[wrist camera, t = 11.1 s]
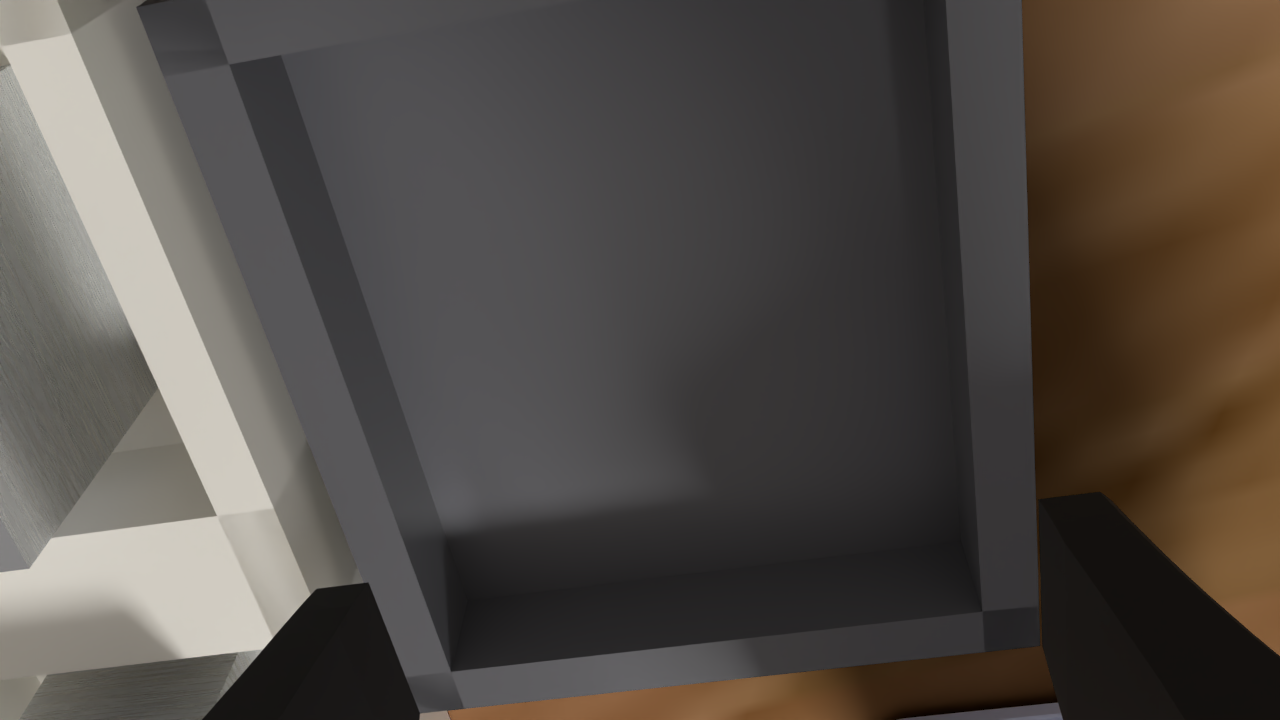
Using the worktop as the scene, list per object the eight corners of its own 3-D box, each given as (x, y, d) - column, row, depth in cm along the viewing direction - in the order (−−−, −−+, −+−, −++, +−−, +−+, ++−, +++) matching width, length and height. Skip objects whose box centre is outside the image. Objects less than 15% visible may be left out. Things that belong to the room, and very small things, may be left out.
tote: (1009, 557, 24) (1039, 645, 22) (437, 625, 26) (415, 714, 24) (976, -186, 17) (1016, -162, 15) (198, -35, 19) (136, 7, 17)
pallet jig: (485, 812, 29) (461, 948, 26) (136, 846, 30) (74, 980, 27) (144, -95, 19) (38, -44, 16) (-372, 10, 20) (-563, 76, 17)
